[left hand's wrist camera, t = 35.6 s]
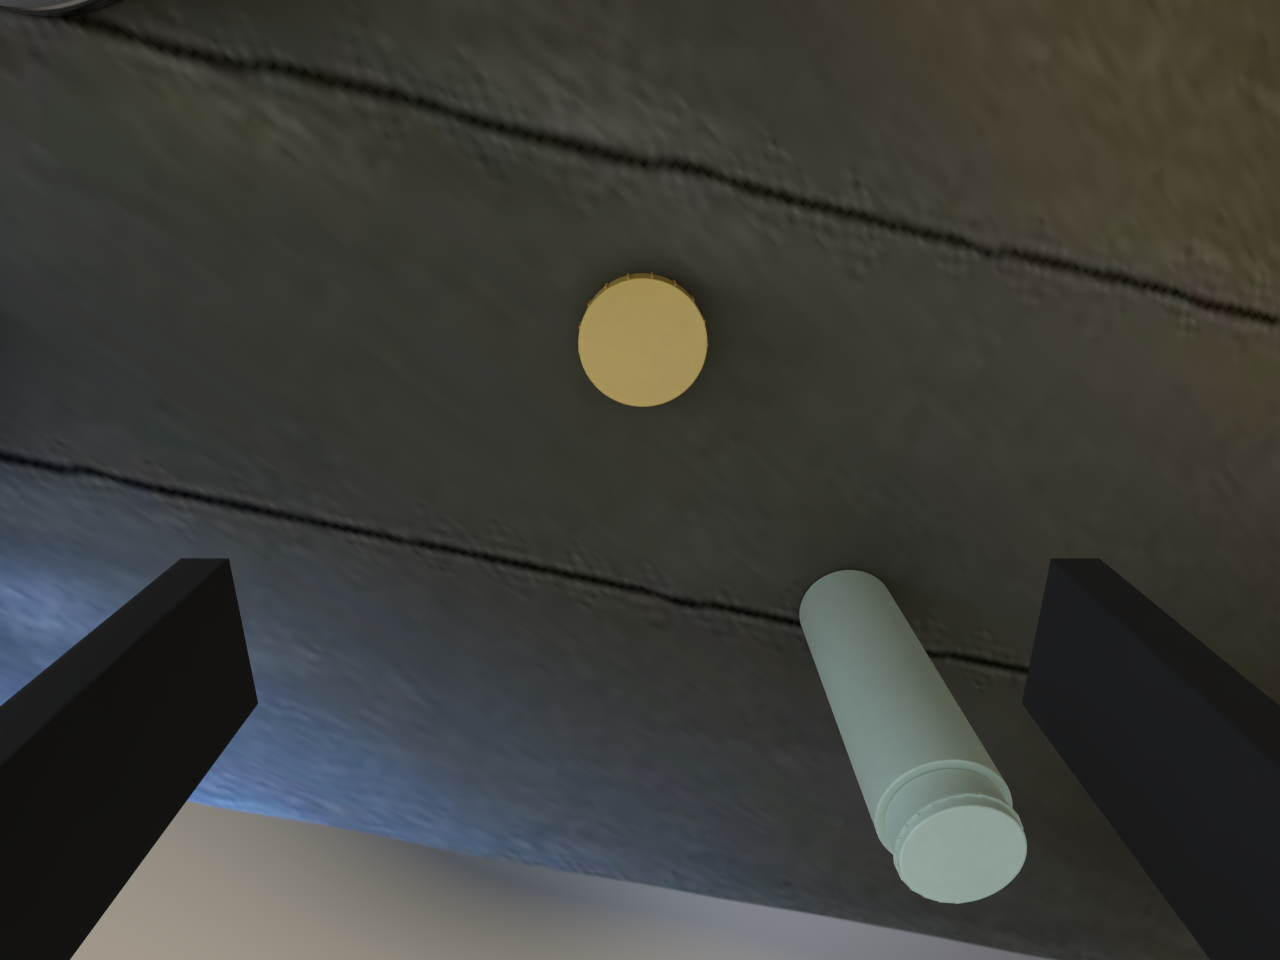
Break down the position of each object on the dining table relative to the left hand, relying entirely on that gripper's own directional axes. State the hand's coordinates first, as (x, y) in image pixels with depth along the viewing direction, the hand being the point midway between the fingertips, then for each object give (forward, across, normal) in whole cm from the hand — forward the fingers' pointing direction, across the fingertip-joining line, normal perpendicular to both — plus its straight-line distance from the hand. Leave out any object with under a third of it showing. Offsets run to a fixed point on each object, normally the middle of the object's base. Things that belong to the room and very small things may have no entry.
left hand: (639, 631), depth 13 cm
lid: (+26, 0, 0) cm, 26 cm away
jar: (+28, +12, -16) cm, 34 cm away
